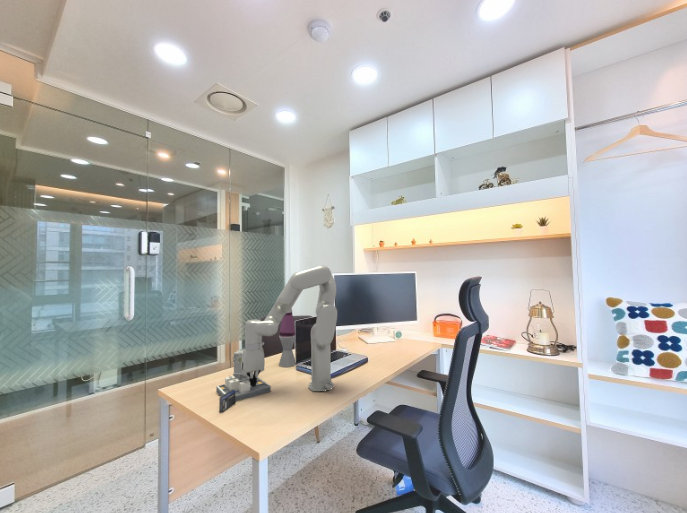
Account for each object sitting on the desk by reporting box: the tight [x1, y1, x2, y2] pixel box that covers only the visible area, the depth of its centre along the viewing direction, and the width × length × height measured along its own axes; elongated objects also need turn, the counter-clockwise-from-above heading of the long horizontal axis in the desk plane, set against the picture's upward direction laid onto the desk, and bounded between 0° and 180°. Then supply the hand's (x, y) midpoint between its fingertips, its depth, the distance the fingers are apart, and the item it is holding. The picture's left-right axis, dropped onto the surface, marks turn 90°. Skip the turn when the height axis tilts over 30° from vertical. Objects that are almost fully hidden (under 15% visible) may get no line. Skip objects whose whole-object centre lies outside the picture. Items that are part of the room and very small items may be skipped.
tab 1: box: [224, 375, 235, 388], centre depth 139 cm, size 3×4×5 cm
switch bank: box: [215, 376, 272, 403], centre depth 138 cm, size 17×20×3 cm
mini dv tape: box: [218, 390, 236, 413], centre depth 122 cm, size 8×2×6 cm, turn 164°
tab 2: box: [229, 379, 239, 391], centre depth 135 cm, size 3×4×5 cm
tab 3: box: [239, 380, 250, 393], centre depth 133 cm, size 3×4×5 cm
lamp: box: [278, 307, 296, 368], centre depth 178 cm, size 11×11×40 cm
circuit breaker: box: [232, 348, 254, 380], centre depth 156 cm, size 8×14×15 cm, turn 174°
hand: (253, 385), depth 135 cm, fingers closed
